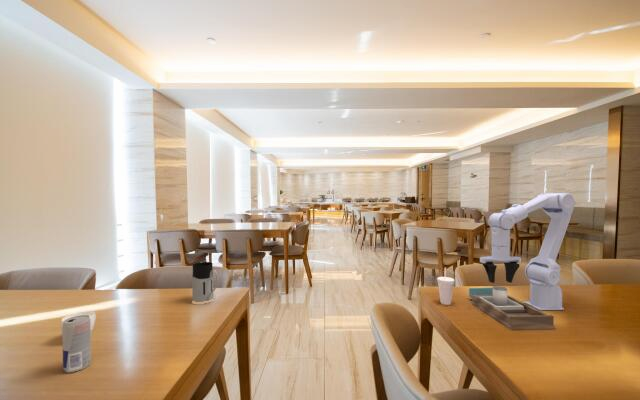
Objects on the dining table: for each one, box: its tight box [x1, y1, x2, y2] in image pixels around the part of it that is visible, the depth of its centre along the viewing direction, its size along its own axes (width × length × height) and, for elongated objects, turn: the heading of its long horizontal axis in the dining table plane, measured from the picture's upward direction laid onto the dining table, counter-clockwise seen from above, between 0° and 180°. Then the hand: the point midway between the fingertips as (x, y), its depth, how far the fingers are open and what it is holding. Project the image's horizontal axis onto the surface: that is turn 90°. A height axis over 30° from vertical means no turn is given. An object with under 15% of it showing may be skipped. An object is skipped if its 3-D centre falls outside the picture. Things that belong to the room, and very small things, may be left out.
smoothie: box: [436, 267, 455, 306], centre depth 113 cm, size 6×6×14 cm
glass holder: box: [191, 261, 219, 302], centre depth 115 cm, size 9×14×15 cm, turn 54°
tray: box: [468, 286, 526, 313], centre depth 110 cm, size 17×11×4 cm, turn 2°
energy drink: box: [61, 315, 92, 374], centre depth 72 cm, size 5×5×12 cm
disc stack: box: [492, 285, 508, 306], centre depth 107 cm, size 5×5×6 cm
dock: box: [470, 294, 556, 331], centre depth 102 cm, size 22×15×4 cm, turn 2°
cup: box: [60, 310, 97, 332], centre depth 87 cm, size 8×10×7 cm
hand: (500, 282), depth 106 cm, fingers open, 6 cm apart
